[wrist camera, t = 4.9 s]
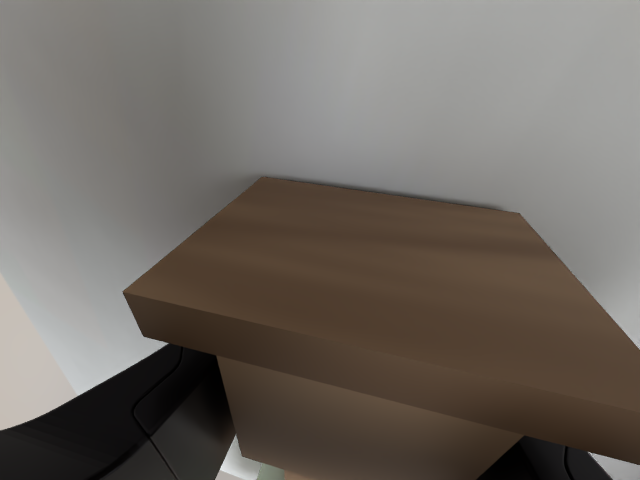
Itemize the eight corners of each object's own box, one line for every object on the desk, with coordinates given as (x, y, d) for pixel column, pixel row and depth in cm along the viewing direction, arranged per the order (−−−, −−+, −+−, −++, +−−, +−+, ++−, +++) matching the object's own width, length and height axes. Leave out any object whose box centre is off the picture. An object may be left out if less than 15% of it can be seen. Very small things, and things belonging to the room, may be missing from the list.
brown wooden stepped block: (262, 176, 8) (122, 291, 4) (519, 213, 7) (709, 428, 3) (278, 438, 18) (243, 549, 14) (384, 470, 17) (382, 600, 13)
